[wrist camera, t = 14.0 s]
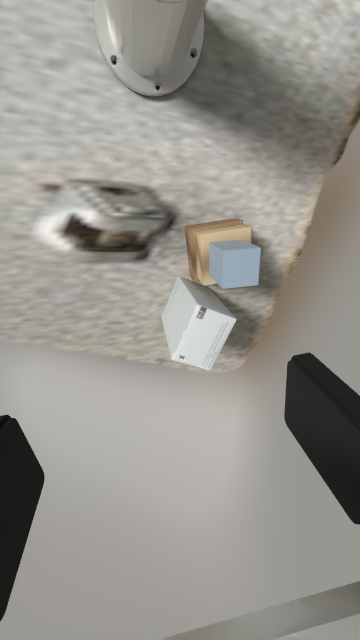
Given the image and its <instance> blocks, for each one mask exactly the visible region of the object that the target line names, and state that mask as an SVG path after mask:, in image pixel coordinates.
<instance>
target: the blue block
mask: <svg viewBox="0 0 360 640" xmlns="http://www.w3.org/2000/svg"><path fill="white" fill-rule="evenodd" d="M260 253H261V247H258V246H256V245H254V244H251V243H249V242H246V241H244V240H232V241H220V242H209V273H210V277H211V278H212V279H213V280H214V281H215V282H216V283H217V284H218V285H219V286H220V287H221V288H222V289H226V288H236V287H245V286H255V285H258V281H259V267H260Z"/></svg>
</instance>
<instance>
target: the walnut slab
mask: <svg viewBox="0 0 360 640" xmlns="http://www.w3.org/2000/svg"><path fill="white" fill-rule="evenodd" d="M236 224H242V225H243V220H239V219H235V218H234V219H227V220H221V221H215V222H209V223H203V224H196V225H190V226H184V227H185V235H186V244H187V252H188V261H189V269H190V276H191V278H192V279H193V280H194V282H195V283H196V282H201V281H200V280H199V279H198V276H197V266H196V255H195V244H194V234H193V231H196V230H203V229H209V228H216V227H223V226H230V225H236Z"/></svg>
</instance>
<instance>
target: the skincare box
mask: <svg viewBox="0 0 360 640" xmlns="http://www.w3.org/2000/svg"><path fill="white" fill-rule="evenodd" d="M161 318H162V322H163V326H164V330H165V334H166V338H167V342H168V347H169V351H170V355H171V360H174V361H178V362H181V363H184V364H188V365H192V366H196V367H199V368H203V369H206V370H211V368H212V367H213V365H214V363H215V361H216V359H217V357H218V355H219V353H220V351H221V349H222V347H223V345H224V343H225V341H226V339H227V338H228V336H229V334H230V332H231V330H232V328H233V326H234V324H235V322H236V320H237V319H236V318H235V316H234V315H233V314H232V313H231V312H230V311H229V310H228V309H227V308H226V307H225V306H224V304H223V303H222V302H221V301H220V300H219V299H218V298H217V297H216V296H215V295H214V293H213V292H212V291H211V290H210V289H209V288H208V287H205V286H203V285H200V284H198V283H195V282H192V281H190V280H187V279H185V278H182V277H180V276H179V277H178V278H177V281H176V283H175V285H174V288H173V290H172V292H171V295H170V297H169V299H168V302H167V304H166V307H165V310H164V312H163V314H162V316H161Z"/></svg>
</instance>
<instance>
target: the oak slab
mask: <svg viewBox="0 0 360 640" xmlns="http://www.w3.org/2000/svg"><path fill="white" fill-rule="evenodd" d="M193 234H194V244H195V255H196V266H197V276H198V279H199V280H200V281H201V283H202V284H203V285H204V286H205V285H211V284H217V283H216V282H215V281H214V280H213V279H212V278H211V277H210V273H209V242H220V241H232V240H244V241H246V242H249V243H251V227H249V226H246V225H242V224H236V225H230V226H223V227H216V228H209V229H203V230H196V231H193Z"/></svg>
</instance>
